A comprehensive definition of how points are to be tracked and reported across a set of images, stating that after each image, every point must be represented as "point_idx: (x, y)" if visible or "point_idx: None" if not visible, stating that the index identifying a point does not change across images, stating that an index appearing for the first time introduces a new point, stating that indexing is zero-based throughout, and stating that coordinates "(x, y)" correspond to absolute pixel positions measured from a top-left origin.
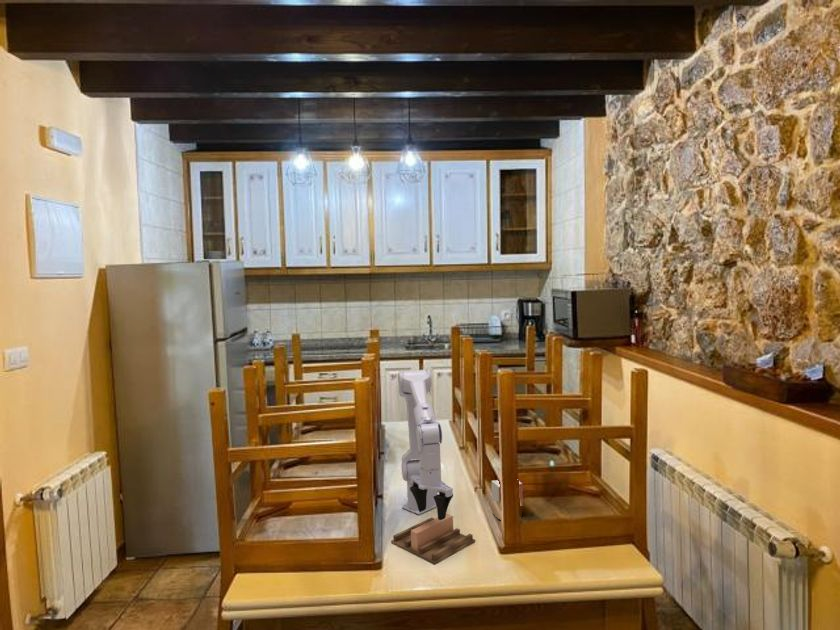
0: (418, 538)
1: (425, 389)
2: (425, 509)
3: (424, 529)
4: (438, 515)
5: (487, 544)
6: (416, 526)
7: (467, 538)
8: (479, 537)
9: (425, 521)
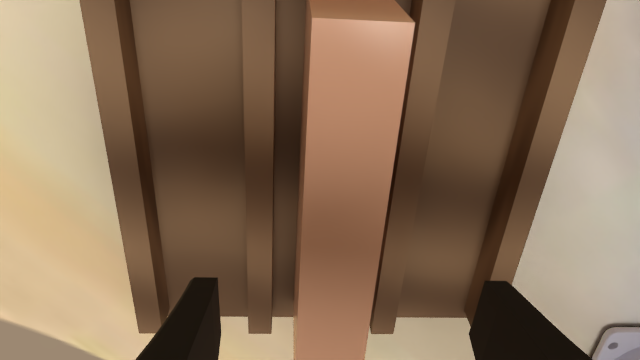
0: (309, 21)
1: None
2: (470, 334)
3: (310, 127)
4: (193, 307)
5: (74, 323)
6: (514, 207)
7: (134, 292)
8: None
9: None
